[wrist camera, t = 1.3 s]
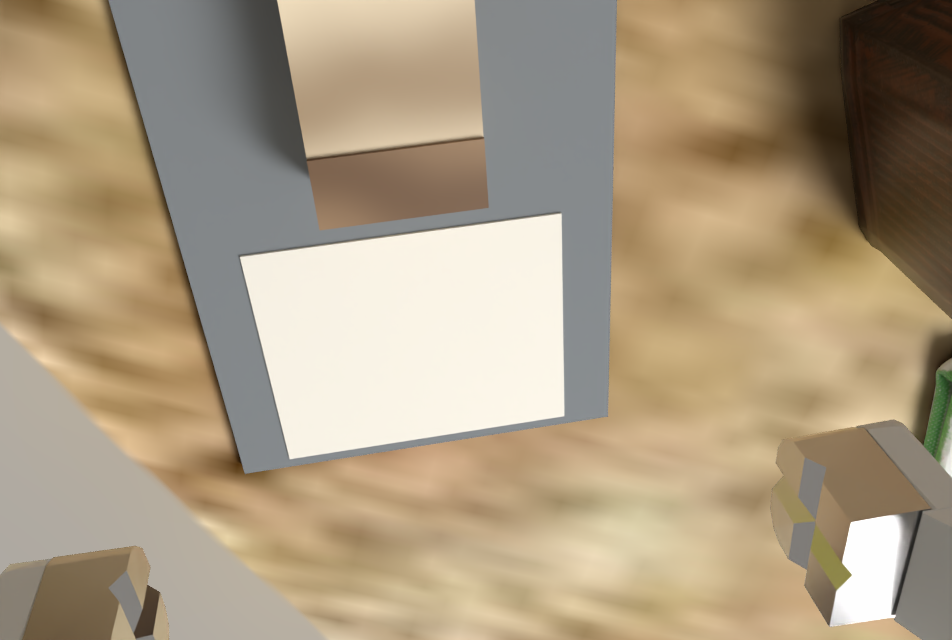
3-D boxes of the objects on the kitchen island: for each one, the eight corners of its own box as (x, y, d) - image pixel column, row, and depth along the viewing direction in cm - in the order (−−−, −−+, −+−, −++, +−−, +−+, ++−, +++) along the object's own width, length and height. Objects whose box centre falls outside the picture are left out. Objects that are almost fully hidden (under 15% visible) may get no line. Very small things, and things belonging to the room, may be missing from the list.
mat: (79, -116, 26) (75, -113, 26) (615, -167, 28) (621, -165, 27) (245, 465, 39) (244, 475, 39) (604, 409, 41) (608, 417, 40)
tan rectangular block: (267, -94, 27) (263, -69, 24) (451, -112, 27) (469, -91, 24) (317, 181, 32) (319, 230, 29) (471, 162, 32) (488, 208, 30)
